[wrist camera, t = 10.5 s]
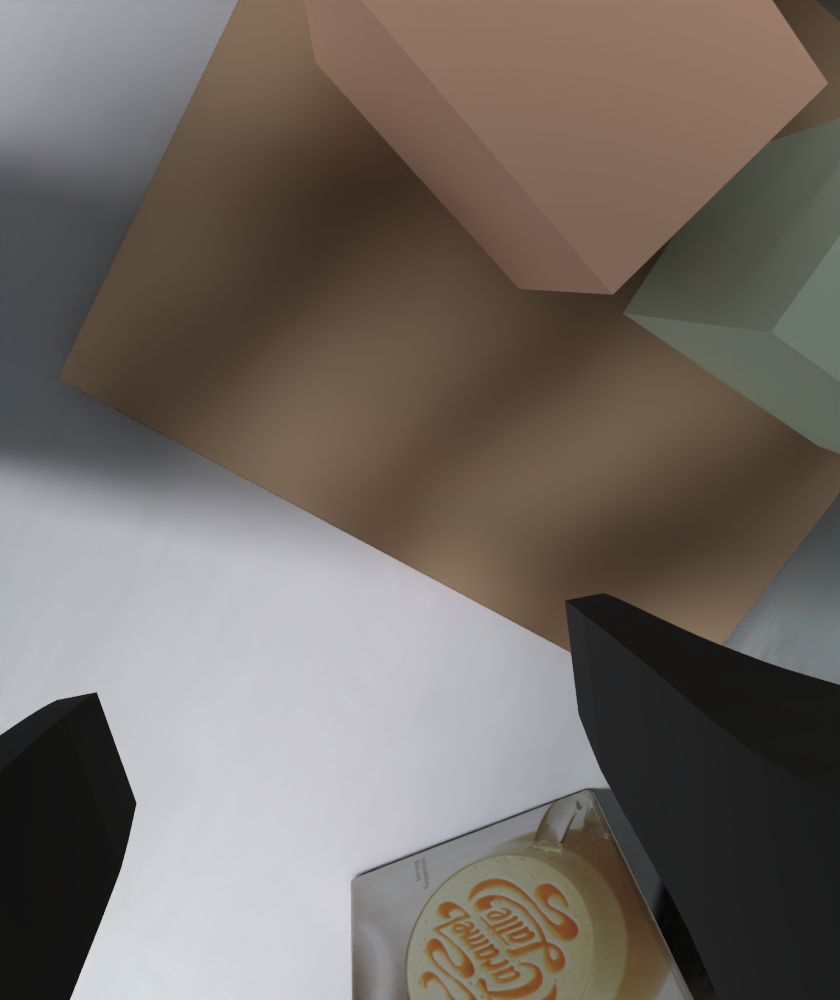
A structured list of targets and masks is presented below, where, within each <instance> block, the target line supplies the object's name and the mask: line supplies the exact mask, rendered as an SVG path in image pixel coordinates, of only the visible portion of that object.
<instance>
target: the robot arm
mask: <svg viewBox="0 0 840 1000" xmlns="http://www.w3.org/2000/svg"><path fill="white" fill-rule="evenodd" d="M565 607H566V615H567V623H568V631H569V639H570V647H571V656H572V664H573V672H574V680H575V688H576V696H577V704H578V712H579V716H580V719H581V722H582V724H583V727H584V729H585V732H586V735H587V737H588V740H589V742H590V745H591V747H592V750H593V752H594V755H595V757H596V760H597V762H598V764H599V767H600V769H601V771H602V773H603V775H604V777H605V779H606V781H607V783H608V784H609V786H610V788H611V790H612V792H613V793H614V795H615V797H616V799H617V801H618V802H619V804H620V806H621V808H622V810H623V812H624V813H625V815H626V817H627V819H628V820H629V822H630V824H631V826H632V828H633V829H634V831H635V833H636V835H637V837H638V838H639V840H640V842H641V844H642V845H643V847H644V849H645V851H646V853H647V854H648V856H649V858H650V860H651V861H652V863H653V865H654V867H655V869H656V870H657V872H658V874H659V876H660V878H661V879H662V881H663V883H664V885H665V886H666V888H667V890H668V892H669V894H670V895H671V897H672V899H673V901H674V903H675V905H676V907H677V909H678V911H679V913H680V915H681V917H682V919H683V921H684V923H685V924H686V926H687V928H688V930H689V932H690V935H691V937H692V939H693V941H694V944H695V946H696V948H697V951H698V953H699V955H700V957H701V960H702V962H703V964H704V966H705V969H706V971H707V973H708V976H709V978H710V980H711V982H712V985H713V987H714V989H715V991H716V994H717V996H718V998H719V1000H840V685H838V684H834V683H831V682H828V681H824V680H821V679H818V678H814V677H811V676H807V675H804V674H801V673H797V672H794V671H790V670H787V669H784V668H781V667H778V666H775V665H772V664H769V663H766V662H764V661H761V660H758V659H756V658H753V657H750V656H748V655H745V654H742V653H740V652H737V651H735V650H732V649H729V648H727V647H724V646H722V645H719V644H717V643H715V642H712V641H710V640H707V639H705V638H703V637H700V636H698V635H696V634H693V633H691V632H689V631H687V630H685V629H682V628H680V627H678V626H676V625H674V624H671V623H669V622H667V621H665V620H663V619H661V618H659V617H656V616H654V615H652V614H650V613H648V612H646V611H644V610H642V609H640V608H638V607H635V606H633V605H631V604H629V603H627V602H625V601H623V600H620V599H618V598H616V597H613V596H611V595H608V594H606V593H601V594H596V595H590V596H585V597H580V598H575V599H570V600H565ZM135 808H136V801H135V798H134V795H133V792H132V790H131V787H130V784H129V781H128V778H127V776H126V773H125V770H124V767H123V765H122V762H121V759H120V756H119V753H118V751H117V748H116V745H115V742H114V739H113V737H112V734H111V731H110V728H109V725H108V723H107V720H106V717H105V714H104V712H103V709H102V706H101V703H100V700H99V698H98V695H97V692H96V693H91V694H86V695H81V696H76V697H71V698H65V699H60V700H56V701H54V702H52V703H50V704H49V705H47V706H45V707H43V708H41V709H40V710H38V711H36V712H35V713H33V714H31V715H30V716H28V717H27V718H25V719H24V720H22V721H21V722H19V723H18V724H16V725H15V726H13V727H12V728H10V729H9V730H7V731H6V732H4V733H3V734H2V735H0V1000H70V998H71V996H72V993H73V991H74V988H75V985H76V983H77V980H78V978H79V975H80V973H81V970H82V968H83V965H84V963H85V960H86V958H87V955H88V953H89V950H90V948H91V945H92V943H93V940H94V937H95V935H96V932H97V930H98V927H99V925H100V922H101V920H102V917H103V915H104V912H105V909H106V907H107V904H108V902H109V899H110V896H111V894H112V891H113V889H114V886H115V883H116V881H117V878H118V875H119V872H120V870H121V867H122V863H123V859H124V855H125V851H126V847H127V843H128V839H129V835H130V831H131V826H132V821H133V817H134V812H135Z"/></svg>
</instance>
